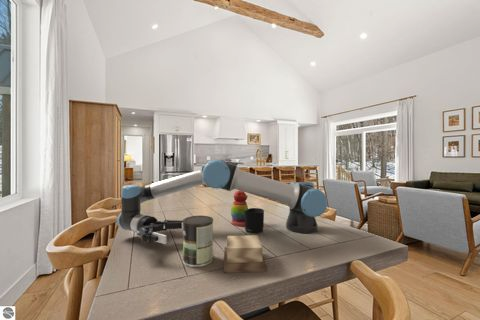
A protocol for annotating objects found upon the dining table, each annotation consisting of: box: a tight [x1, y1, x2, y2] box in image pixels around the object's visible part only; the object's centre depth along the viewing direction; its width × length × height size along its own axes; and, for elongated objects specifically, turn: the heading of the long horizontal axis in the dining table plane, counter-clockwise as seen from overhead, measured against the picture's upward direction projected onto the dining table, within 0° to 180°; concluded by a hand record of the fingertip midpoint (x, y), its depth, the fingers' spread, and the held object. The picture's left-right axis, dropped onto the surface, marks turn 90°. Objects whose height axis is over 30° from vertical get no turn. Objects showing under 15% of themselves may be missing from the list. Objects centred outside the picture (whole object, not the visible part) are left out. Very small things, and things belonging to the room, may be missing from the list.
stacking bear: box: [230, 190, 249, 228], centre depth 117 cm, size 11×10×18 cm
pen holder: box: [244, 207, 265, 235], centre depth 105 cm, size 9×9×10 cm
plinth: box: [223, 234, 267, 274], centre depth 73 cm, size 13×13×7 cm
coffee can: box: [182, 215, 214, 268], centre depth 75 cm, size 10×10×14 cm
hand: (181, 233), depth 79 cm, fingers open, 13 cm apart
